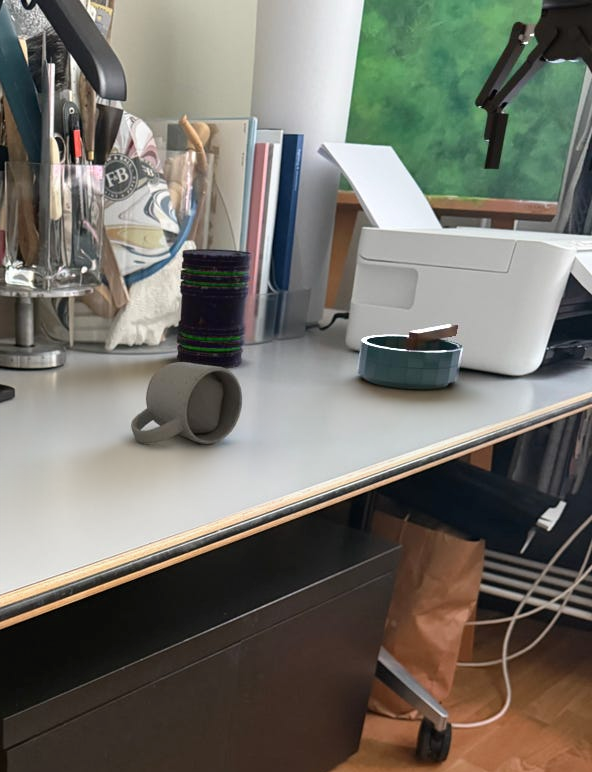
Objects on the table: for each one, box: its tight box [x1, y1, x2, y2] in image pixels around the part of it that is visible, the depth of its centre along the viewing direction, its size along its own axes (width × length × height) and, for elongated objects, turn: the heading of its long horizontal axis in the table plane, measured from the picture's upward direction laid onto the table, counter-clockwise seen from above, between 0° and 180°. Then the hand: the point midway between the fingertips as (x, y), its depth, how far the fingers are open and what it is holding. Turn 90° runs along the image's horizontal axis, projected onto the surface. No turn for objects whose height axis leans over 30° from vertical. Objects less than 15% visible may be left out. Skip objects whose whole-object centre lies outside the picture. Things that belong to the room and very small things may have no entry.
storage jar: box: [176, 248, 252, 369], centre depth 134 cm, size 10×10×15 cm
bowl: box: [356, 334, 463, 390], centre depth 128 cm, size 13×13×5 cm
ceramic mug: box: [130, 361, 243, 445], centre depth 97 cm, size 11×8×8 cm
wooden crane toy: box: [405, 323, 458, 351], centre depth 131 cm, size 18×6×7 cm, turn 134°
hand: (541, 170), depth 120 cm, fingers open, 13 cm apart
